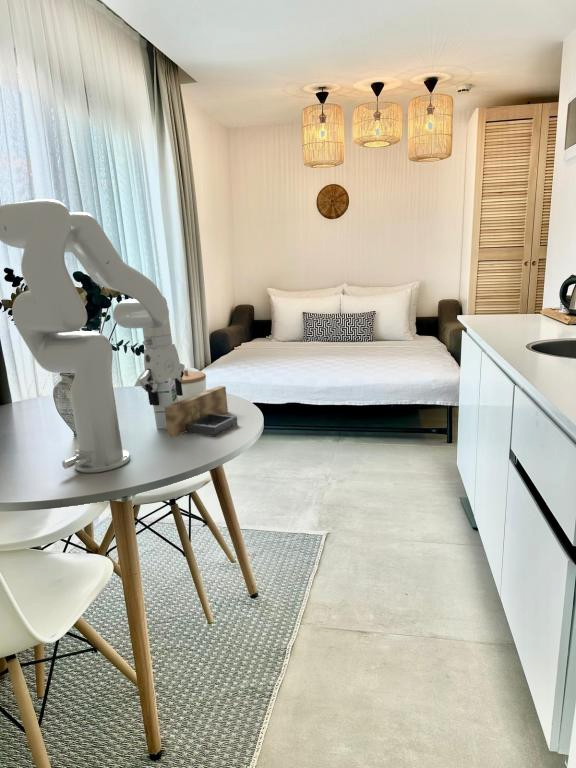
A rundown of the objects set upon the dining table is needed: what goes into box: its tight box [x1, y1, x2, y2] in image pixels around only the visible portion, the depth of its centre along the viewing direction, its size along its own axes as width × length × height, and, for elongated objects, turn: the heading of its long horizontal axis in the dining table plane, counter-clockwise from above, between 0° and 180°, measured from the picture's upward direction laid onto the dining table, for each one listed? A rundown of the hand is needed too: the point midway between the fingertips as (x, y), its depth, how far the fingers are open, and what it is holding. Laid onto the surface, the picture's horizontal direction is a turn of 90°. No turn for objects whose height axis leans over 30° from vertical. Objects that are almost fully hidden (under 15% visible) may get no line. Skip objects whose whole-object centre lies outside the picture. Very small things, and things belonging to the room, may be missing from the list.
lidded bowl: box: [177, 369, 207, 402], centre depth 174 cm, size 13×13×11 cm
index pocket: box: [186, 413, 238, 437], centre depth 145 cm, size 10×10×2 cm
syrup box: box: [151, 378, 178, 430], centre depth 149 cm, size 6×6×14 cm
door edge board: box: [164, 385, 229, 437], centre depth 151 cm, size 24×3×8 cm, turn 150°
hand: (166, 400), depth 150 cm, fingers open, 9 cm apart
